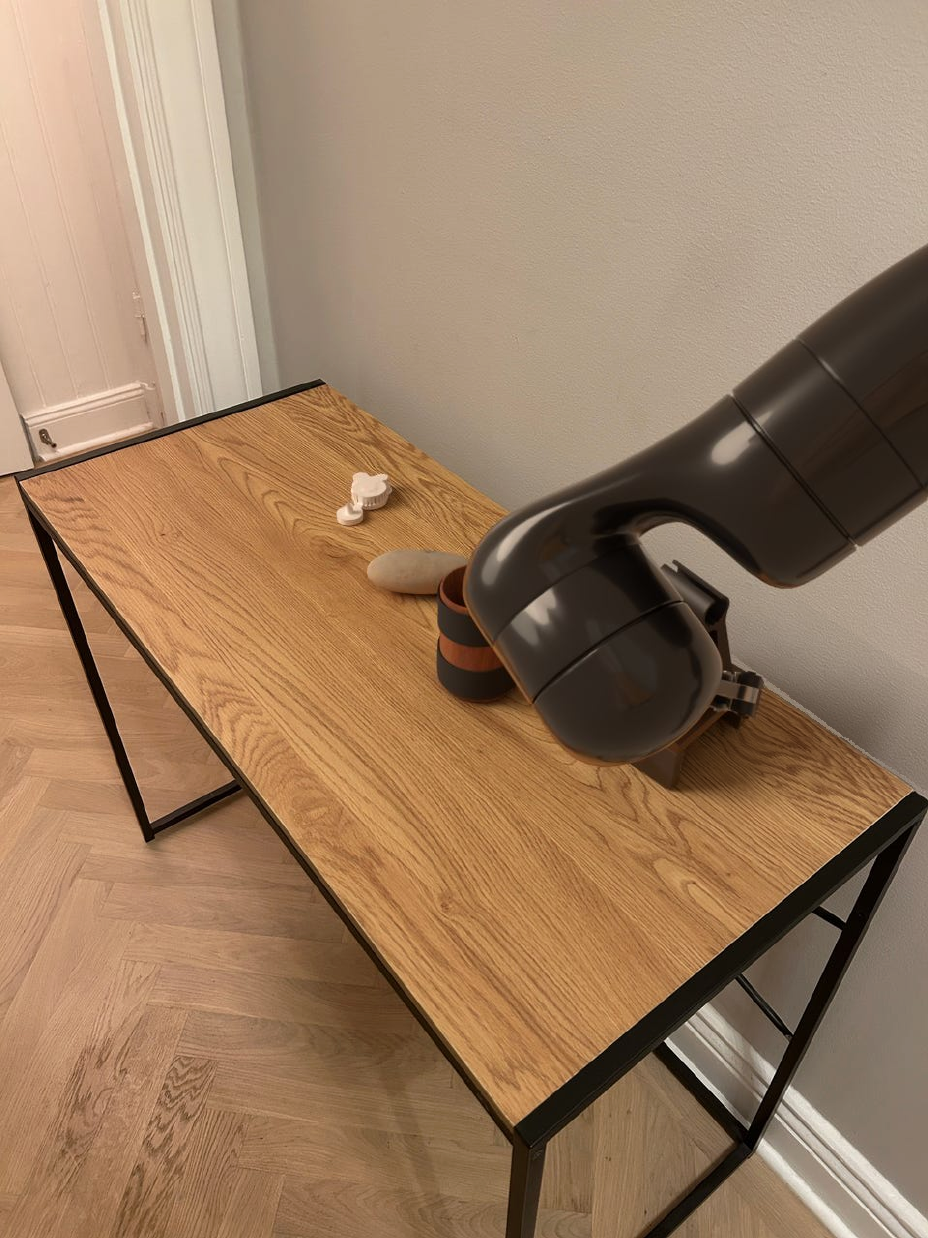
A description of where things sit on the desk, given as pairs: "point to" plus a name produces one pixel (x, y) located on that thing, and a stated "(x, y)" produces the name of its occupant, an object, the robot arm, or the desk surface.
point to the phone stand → (703, 606)
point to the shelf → (683, 747)
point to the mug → (466, 648)
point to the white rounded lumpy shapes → (364, 497)
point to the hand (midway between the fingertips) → (656, 677)
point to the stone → (413, 570)
